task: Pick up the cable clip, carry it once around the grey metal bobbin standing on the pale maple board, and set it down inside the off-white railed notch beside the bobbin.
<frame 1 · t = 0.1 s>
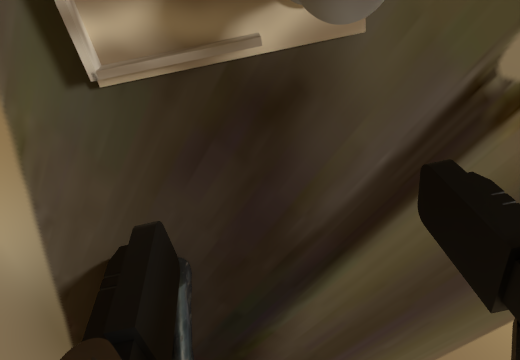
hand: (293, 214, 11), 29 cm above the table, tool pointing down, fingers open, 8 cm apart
tablet: (159, 320, 59), on the table
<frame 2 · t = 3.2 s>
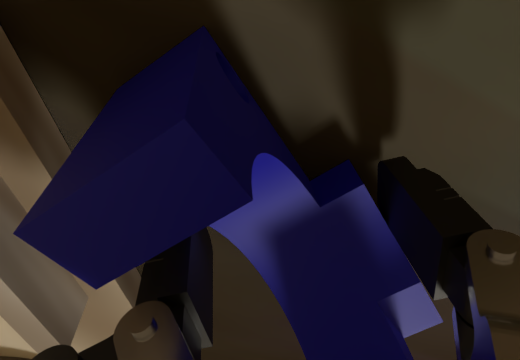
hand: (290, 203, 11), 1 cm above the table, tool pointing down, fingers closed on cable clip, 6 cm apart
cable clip: (290, 188, 13), on the table, touching gripper
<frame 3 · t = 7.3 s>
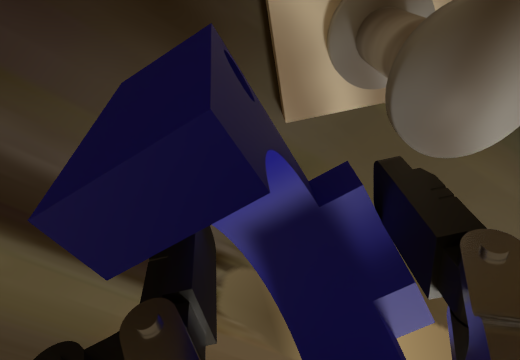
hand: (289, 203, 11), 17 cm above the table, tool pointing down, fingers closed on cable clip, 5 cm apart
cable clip: (288, 188, 13), point 15 cm above the table, touching gripper
when the fingers open (4 cm above the table, at t = 11.6 s): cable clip drops 1 cm, resting on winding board.
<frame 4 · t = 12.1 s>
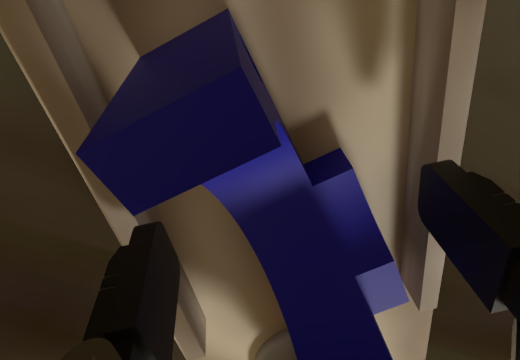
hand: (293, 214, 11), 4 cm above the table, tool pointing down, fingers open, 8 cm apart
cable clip: (284, 169, 14), point 1 cm above the table, touching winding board
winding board: (289, 235, 17), on the table
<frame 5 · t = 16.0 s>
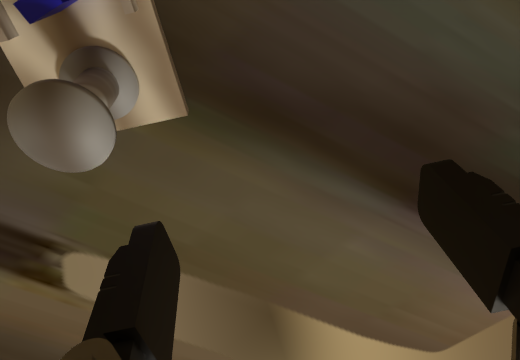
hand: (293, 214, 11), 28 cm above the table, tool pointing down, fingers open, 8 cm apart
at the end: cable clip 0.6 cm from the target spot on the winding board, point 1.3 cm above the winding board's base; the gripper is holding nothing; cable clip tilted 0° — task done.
